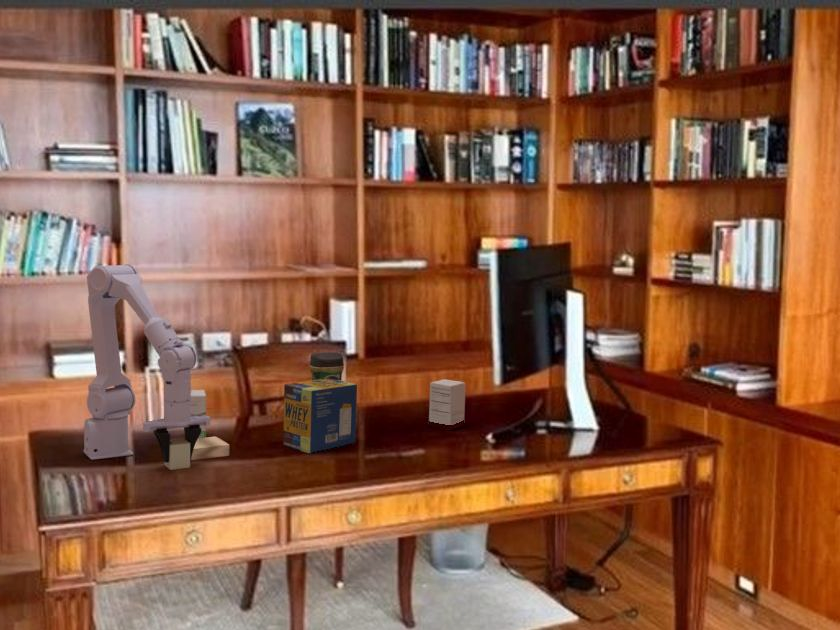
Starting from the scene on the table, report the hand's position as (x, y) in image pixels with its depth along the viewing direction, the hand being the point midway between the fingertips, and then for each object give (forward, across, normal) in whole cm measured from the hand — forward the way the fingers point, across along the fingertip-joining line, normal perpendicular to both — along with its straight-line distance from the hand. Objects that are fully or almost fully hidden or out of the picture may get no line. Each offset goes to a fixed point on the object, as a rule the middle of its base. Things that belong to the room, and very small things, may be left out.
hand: (177, 460), depth 193 cm
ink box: (+2, +12, +23) cm, 26 cm away
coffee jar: (+2, +53, +31) cm, 61 cm away
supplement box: (+2, +77, +5) cm, 77 cm away
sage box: (+1, 0, 0) cm, 1 cm away
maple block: (+2, +9, +8) cm, 12 cm away
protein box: (+2, +37, +3) cm, 37 cm away
